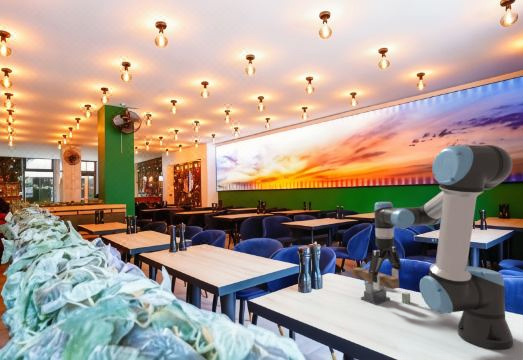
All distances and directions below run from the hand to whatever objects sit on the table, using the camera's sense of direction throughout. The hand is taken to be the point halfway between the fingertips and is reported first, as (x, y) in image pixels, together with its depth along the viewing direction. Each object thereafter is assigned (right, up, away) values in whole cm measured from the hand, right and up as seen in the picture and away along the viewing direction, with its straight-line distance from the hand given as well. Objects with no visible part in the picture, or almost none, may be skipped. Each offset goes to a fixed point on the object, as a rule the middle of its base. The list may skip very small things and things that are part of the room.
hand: (386, 286), depth 139 cm
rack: (+4, -7, +9) cm, 12 cm away
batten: (-3, 0, +5) cm, 6 cm away
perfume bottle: (+3, -8, +24) cm, 25 cm away
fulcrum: (-3, -8, +5) cm, 10 cm away
